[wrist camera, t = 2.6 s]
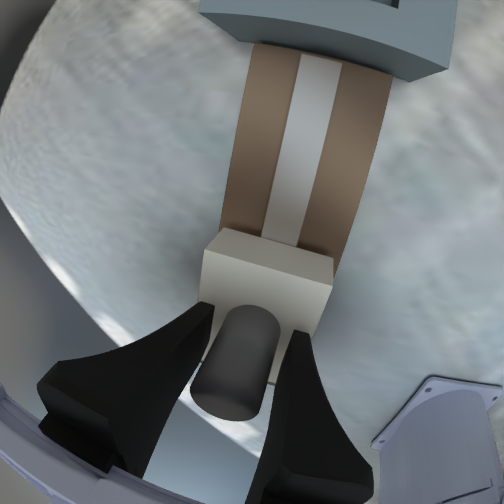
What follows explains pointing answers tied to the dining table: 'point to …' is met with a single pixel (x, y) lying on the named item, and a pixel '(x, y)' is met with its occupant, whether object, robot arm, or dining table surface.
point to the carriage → (254, 317)
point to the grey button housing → (348, 30)
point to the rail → (303, 149)
